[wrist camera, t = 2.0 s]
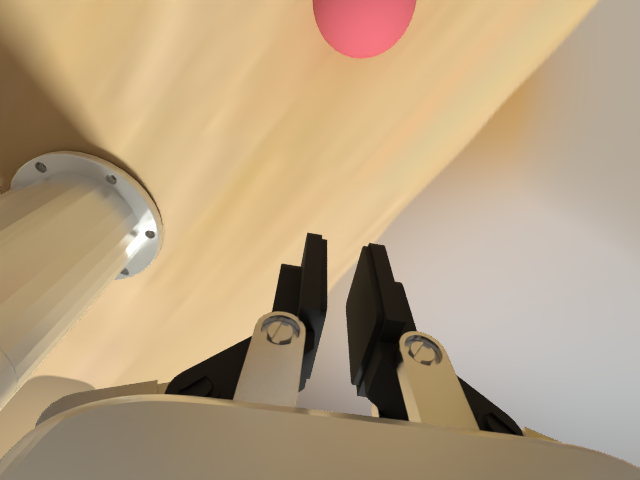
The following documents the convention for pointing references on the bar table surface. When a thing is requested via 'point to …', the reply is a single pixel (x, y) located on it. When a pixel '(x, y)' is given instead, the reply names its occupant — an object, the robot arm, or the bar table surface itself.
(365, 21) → the ball
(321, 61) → the bar table surface
